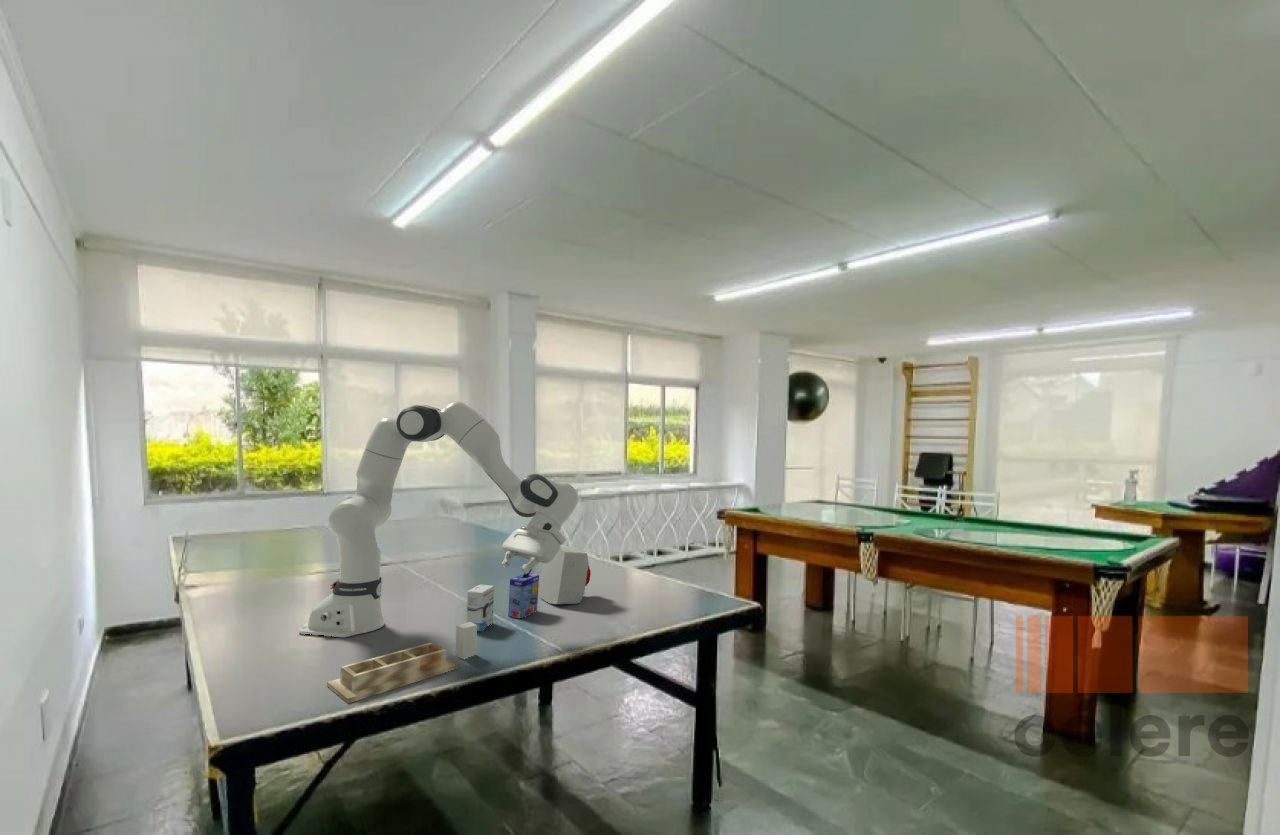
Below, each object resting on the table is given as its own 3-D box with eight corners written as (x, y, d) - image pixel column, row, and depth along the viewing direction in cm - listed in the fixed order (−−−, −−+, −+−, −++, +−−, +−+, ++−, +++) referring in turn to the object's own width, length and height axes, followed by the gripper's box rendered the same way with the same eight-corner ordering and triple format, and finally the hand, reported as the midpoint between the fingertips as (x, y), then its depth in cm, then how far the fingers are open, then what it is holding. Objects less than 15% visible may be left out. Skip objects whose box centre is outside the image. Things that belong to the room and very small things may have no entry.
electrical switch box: (593, 607, 203) (602, 550, 205) (556, 608, 194) (565, 548, 197) (573, 598, 215) (581, 543, 217) (537, 597, 206) (546, 541, 209)
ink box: (481, 632, 169) (482, 592, 170) (465, 631, 170) (466, 591, 171) (494, 623, 178) (495, 585, 178) (479, 622, 179) (480, 584, 179)
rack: (347, 703, 124) (348, 682, 124) (326, 686, 132) (327, 666, 132) (457, 668, 143) (457, 650, 143) (433, 655, 151) (433, 638, 151)
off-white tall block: (455, 656, 151) (456, 625, 151) (469, 652, 154) (469, 621, 154) (462, 659, 149) (463, 628, 149) (476, 655, 152) (477, 624, 152)
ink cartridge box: (522, 619, 182) (523, 573, 182) (507, 617, 184) (508, 571, 184) (538, 611, 191) (539, 567, 191) (524, 609, 193) (525, 565, 194)
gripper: (514, 519, 176) (486, 556, 169) (558, 527, 163) (529, 567, 155) (526, 532, 180) (499, 569, 172) (569, 541, 166) (542, 581, 158)
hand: (513, 568), depth 164 cm, fingers open, 8 cm apart
